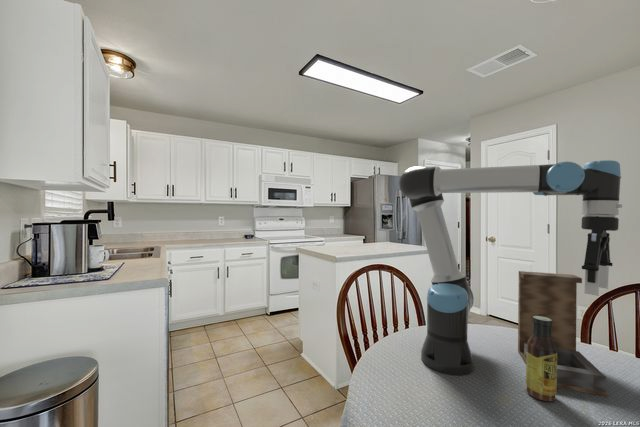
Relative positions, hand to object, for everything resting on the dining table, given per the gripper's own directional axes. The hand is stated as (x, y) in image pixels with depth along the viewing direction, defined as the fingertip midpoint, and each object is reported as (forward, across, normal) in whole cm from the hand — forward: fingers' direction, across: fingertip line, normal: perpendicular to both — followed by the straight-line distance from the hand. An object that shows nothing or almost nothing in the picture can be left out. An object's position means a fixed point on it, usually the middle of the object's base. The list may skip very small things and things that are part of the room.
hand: (596, 290), depth 82 cm
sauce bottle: (+26, -21, +6) cm, 34 cm away
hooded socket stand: (+25, -3, +7) cm, 27 cm away
